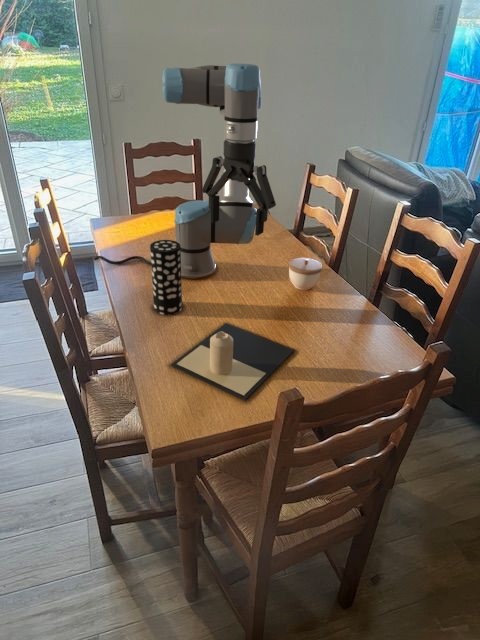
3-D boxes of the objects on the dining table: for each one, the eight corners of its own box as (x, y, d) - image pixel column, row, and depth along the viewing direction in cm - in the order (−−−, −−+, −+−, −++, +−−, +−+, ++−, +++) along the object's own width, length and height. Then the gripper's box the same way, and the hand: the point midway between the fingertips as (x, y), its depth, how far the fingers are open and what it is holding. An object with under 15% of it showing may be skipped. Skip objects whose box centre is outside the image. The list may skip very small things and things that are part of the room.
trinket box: (318, 295, 150) (322, 269, 145) (285, 290, 152) (287, 264, 147) (320, 280, 159) (323, 255, 154) (288, 276, 161) (291, 251, 156)
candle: (209, 361, 117) (209, 328, 112) (231, 361, 118) (232, 328, 113) (210, 375, 113) (210, 341, 107) (232, 375, 113) (234, 341, 108)
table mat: (170, 365, 116) (170, 364, 116) (225, 324, 134) (225, 322, 133) (245, 401, 106) (245, 399, 106) (294, 351, 124) (294, 349, 123)
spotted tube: (186, 304, 142) (185, 242, 131) (174, 317, 135) (172, 253, 125) (162, 298, 144) (158, 237, 134) (148, 311, 138) (144, 248, 127)
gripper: (187, 134, 111) (188, 220, 122) (279, 151, 100) (271, 244, 111) (206, 130, 116) (206, 212, 127) (295, 145, 105) (286, 234, 116)
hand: (236, 227), depth 119 cm, fingers open, 13 cm apart
